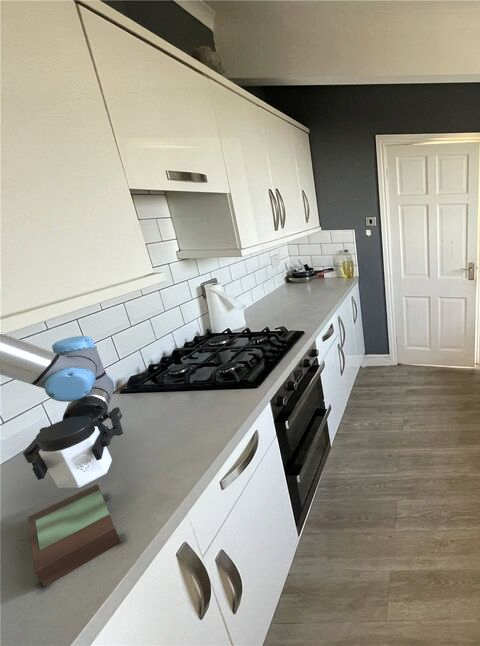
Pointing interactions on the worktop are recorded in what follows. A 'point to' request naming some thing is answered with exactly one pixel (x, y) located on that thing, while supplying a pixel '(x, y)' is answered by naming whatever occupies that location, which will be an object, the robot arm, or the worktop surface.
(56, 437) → the jar
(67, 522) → the green-topped wooden base
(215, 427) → the worktop surface
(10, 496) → the worktop surface
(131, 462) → the worktop surface
